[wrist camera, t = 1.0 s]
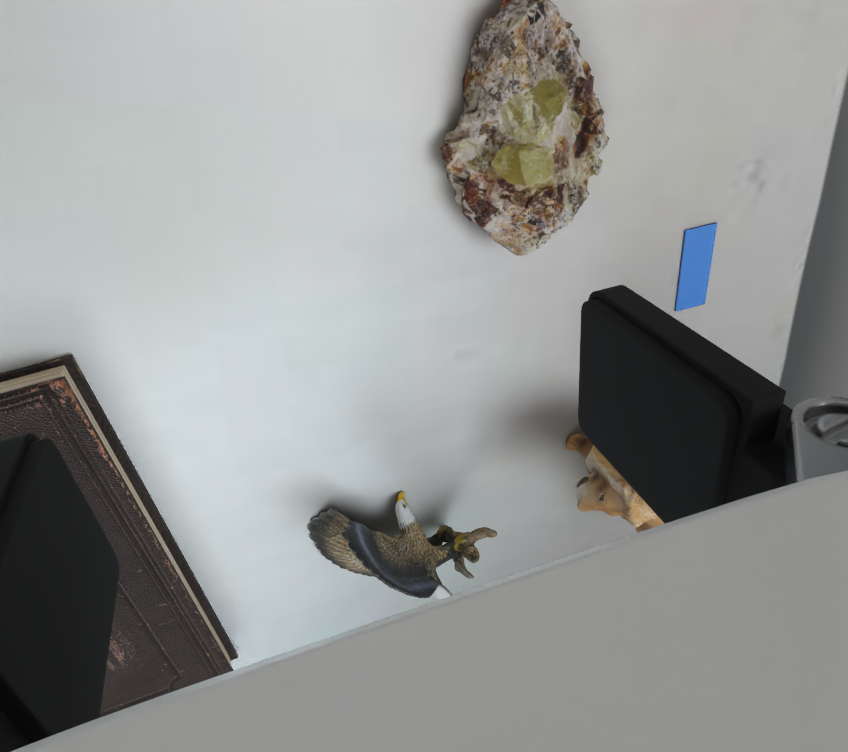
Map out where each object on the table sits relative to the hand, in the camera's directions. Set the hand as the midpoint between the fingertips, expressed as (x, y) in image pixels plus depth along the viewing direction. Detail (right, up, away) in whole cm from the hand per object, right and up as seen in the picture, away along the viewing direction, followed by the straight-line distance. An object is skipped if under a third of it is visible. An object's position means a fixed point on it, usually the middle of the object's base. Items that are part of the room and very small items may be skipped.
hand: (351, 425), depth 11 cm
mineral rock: (+6, +12, +18) cm, 22 cm away
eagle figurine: (-1, -8, +27) cm, 28 cm away
